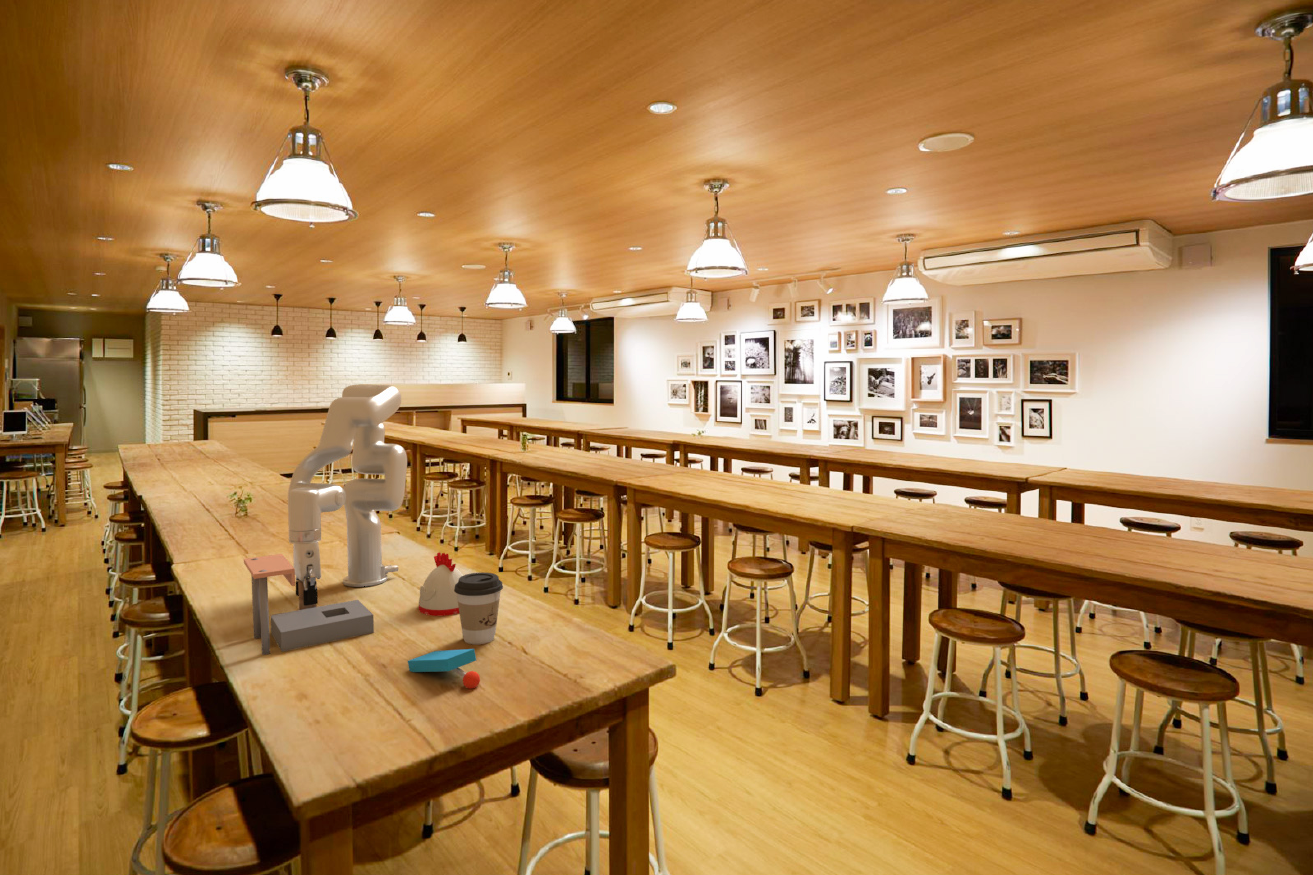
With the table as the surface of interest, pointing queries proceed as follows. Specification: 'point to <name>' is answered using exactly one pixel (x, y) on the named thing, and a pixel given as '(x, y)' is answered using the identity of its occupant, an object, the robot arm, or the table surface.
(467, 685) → the lever
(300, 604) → the walnut peg
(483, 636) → the coffee cup
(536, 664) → the table surface
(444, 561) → the kitchen timer
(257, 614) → the pink topped stand
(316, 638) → the socket block
